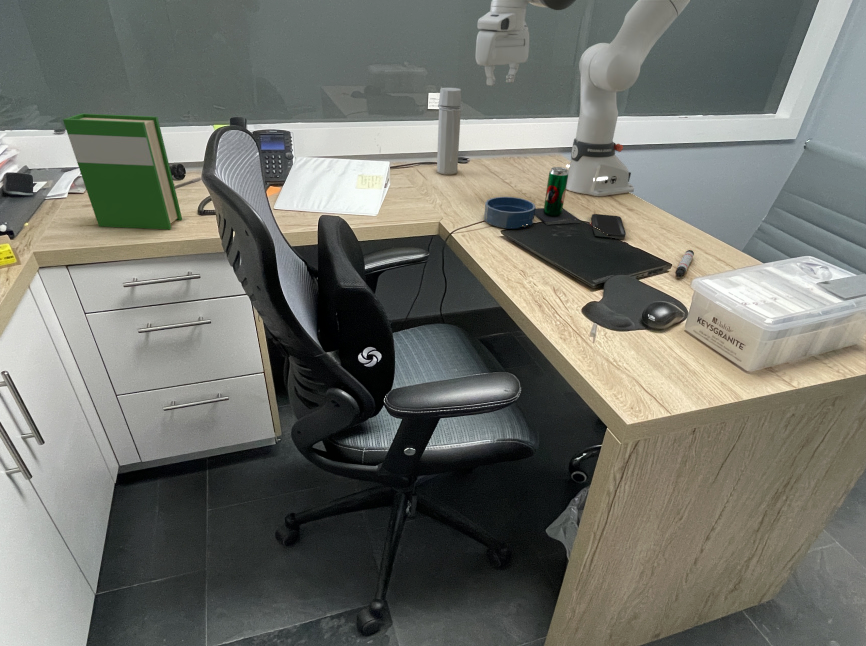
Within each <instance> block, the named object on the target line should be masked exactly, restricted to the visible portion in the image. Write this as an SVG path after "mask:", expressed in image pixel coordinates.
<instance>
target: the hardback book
mask: <svg viewBox="0 0 866 646" xmlns="http://www.w3.org/2000/svg"><path fill="white" fill-rule="evenodd" d="M62 121H63V124H64V127H65V131H66V133H67V136H68V140H69V143H70V145H71V148H72V151H73V153H74V157H75V160H76V164H77V166H78V169H79V172H80V174H81V178H82V181H83V184H84V187H85V189H86V190H85V191H86V193H87V196H88V198H89V201H90V204H91V207H92V211H93V214H94V218H95V220H96V222H97V225H98V227H103V228H104V227H106V228H126V229H127V228H128V229H145V230H146V229H148V230H150V229H151V230H172V223H174V222H175V221H182V220H183V217H182V212H181V208H180V204H179V200H178V196H177V192H176V187H175V184H174V179H173V175H172V171H171V165H170V163H169V158H168V154H167V151H166V146H165V142H164V138H163V134H162V130H161V125H160V121H159V117H158V116H149V115H131V114H130V115H129V114H128V115H127V114H109V113H108V114H106V113H105V114H104V113H84V112H83V113H78V114H75V115H72V116H69V117H65V118H63V119H62Z"/></svg>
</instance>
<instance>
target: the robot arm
mask: <svg viewBox="0 0 866 646" xmlns="http://www.w3.org/2000/svg"><path fill="white" fill-rule="evenodd" d="M576 1H577V0H491V1H490V8H489V9H490V10H489V11H488V12H487V13H485V14H484V15H482V16H481V17H480V18H478V20H477V26H476V27H477V30H479V31H478V32H477V35H476V42H475V43H476V44H475V61H476V64H477V65H478V66H484V72H485V76H486V82H485V83H486V84H485V85H487V86H495V85H496V77H495V74H494V71H495V69H496V66H502V65H508V66H509V70H508V72H507V73H508V74H506V77H505V83H508V84H513V83H514V82H515V79H516V75H517V72H518V70H519V67H520V64H523V63H527V61H528V59H529V54H530V31H529V26H528V23H527V22H526V15H527V14H526V13H527V7H528V6H527V5H528V4H530V5H532V6H534V7H540V8H547V9H551V10H554V11H562V10H566V9H567V8H570V7H571V6H572V5H573V4H574V3H575V2H576ZM690 2H691V0H637V1H636V2H635V3H634V4H633V5H632V7H631V8H630V9H629V10H628V11H627V13H626V14H625V16H624V19H623V23H622V25H621V27H620V28H619V31H618V32H617V34H616V35H615V37H614V38H613V40H611V42H610V43H608V42H599V43H596V44H593V45H591V46H589V47H588V48H586V50H584V52H583V53H582V55H581V57H580V59H579V62H578V70H579V74H580V89H579V90H580V92H579V93H580V94H579V95H580V99H579V100H580V101H579V102H580V103H579V105H580V106H579V114H578V121H577V122H578V123H577V126H576V127H577V128H576V134H575V138H574V139H573V142H572V147H571V153H570V161H569V162H570V163H569V164H566V166H565V168H567V169H568V174H569V175H568V181H567V186H566V191H567V190H568V191H570V192H573V193H578V194H583V195H589V196H594V197H606V196H613V195H622V194H628V193H634V191H635V187H634V185H632V184H631V183H629V182H630V179H631V175H632V172H630V171H629V169H628V167H627V166H626V165H625V164H624V163H623V162H622V161H621V160H620V158H618V156H617V155H616V151H617V152H618V153H620V152H622V151H623V149H624V146H623V144H620V143H616V142H615V141H614V136H615V133H616V132H615V131H616V127H617V122H618V117H619V110H618V105H617V93H619V92H625V91H627V90H628V89H630V88H631V87H632V86H633V85H634V84H635V83H636V82H637V80H638V78H639V76H640V73H641V67H642V65H643V63H644V62H645V60H646V59H647V57H648V55H649V53H650V52H651V50H652V48H653V47H654V46H655V44H656V43H657V42H658V41H659V39H660V38H662V36H663V34H665V32H666V31H667V30H668V29H669V27H670V26H671V25H672V24H673V22H675V21H676V20H677V18H678V17H679V16H680V15H681V14H682V12H683V11H684V10H685V9H686V7H687V6H688V5H689V4H690Z"/></svg>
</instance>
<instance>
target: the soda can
mask: <svg viewBox="0 0 866 646" xmlns="http://www.w3.org/2000/svg"><path fill="white" fill-rule="evenodd" d="M568 169H569V168H567V167H562V166H553V167H551V168H550V171H549V173H548V178H547V184H546V189H545V190H546V191H545V198H544V205H543V208H544V210H543V212H544V214H545V215H547V216H550V217H557V216H560V215H561V214H562V209H563V208H564V203H565V198H566V192H567V189H566V186H567V181H568V175H569V174H568Z"/></svg>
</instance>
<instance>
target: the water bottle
mask: <svg viewBox="0 0 866 646" xmlns="http://www.w3.org/2000/svg"><path fill="white" fill-rule="evenodd" d="M437 107H438V128H437V152H436V153H437V155H436V156H437V157H436V172H437V174H440V175H444V176H453V175H455V174H456V173H458V169H459V168H458V167H459V150H460V134H461V133H460V132H461V115H462V114H461V113H462V110H463V109H464V107H463V105H462V89H461V88H458V87H441V88H440V90H439V99H438V104H437Z"/></svg>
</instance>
